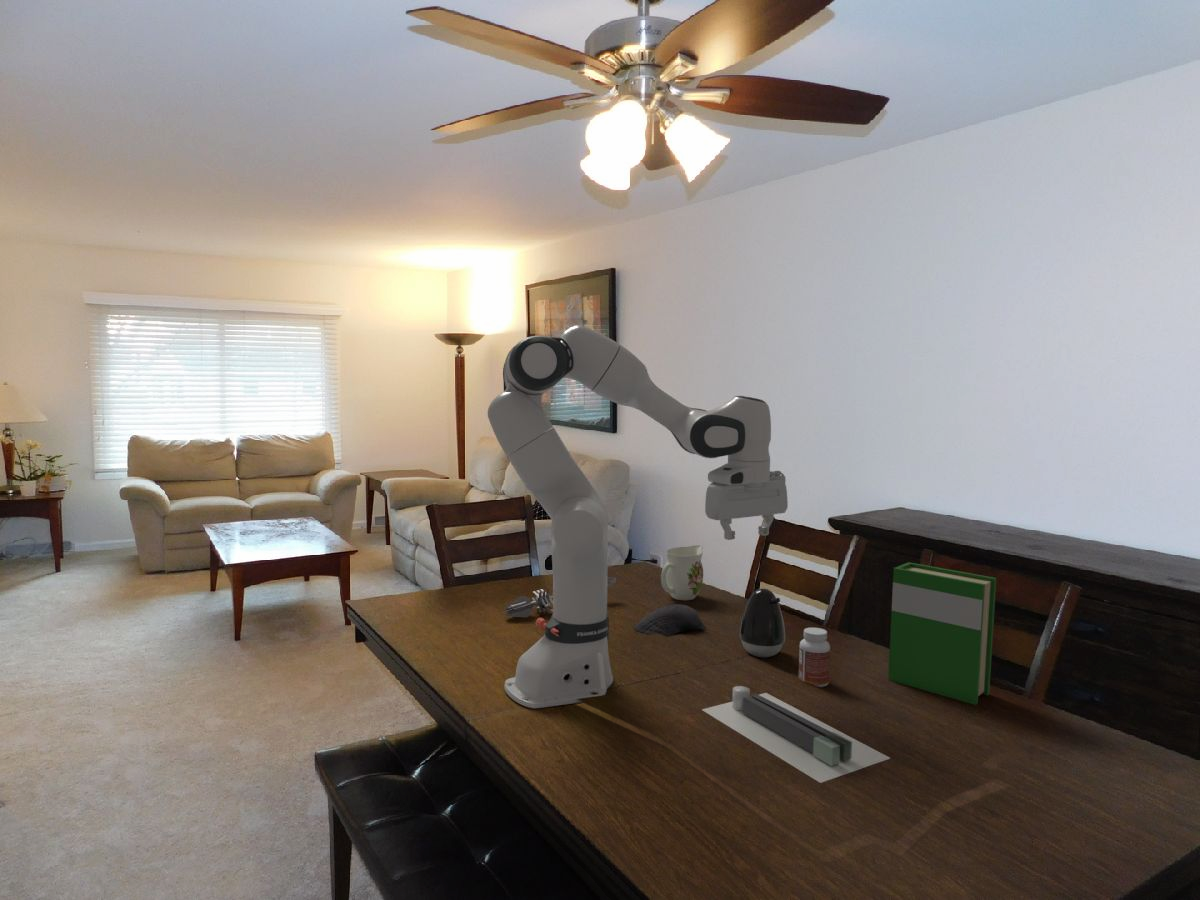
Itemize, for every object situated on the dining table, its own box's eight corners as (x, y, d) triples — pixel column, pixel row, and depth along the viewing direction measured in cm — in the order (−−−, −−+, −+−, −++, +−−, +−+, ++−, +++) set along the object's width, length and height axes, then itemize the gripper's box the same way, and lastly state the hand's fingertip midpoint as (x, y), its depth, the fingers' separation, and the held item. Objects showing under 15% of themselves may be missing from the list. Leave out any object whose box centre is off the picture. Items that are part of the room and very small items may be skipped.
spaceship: (626, 576, 215) (610, 560, 221) (513, 609, 196) (499, 590, 202) (621, 598, 219) (606, 582, 225) (510, 633, 200) (497, 614, 206)
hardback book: (989, 694, 157) (996, 578, 155) (976, 705, 152) (983, 584, 150) (903, 670, 170) (908, 562, 167) (888, 679, 164) (893, 568, 162)
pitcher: (646, 600, 220) (647, 552, 218) (684, 587, 233) (685, 542, 232) (677, 608, 212) (678, 559, 211) (715, 595, 226) (716, 548, 224)
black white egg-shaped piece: (758, 664, 172) (761, 597, 171) (730, 649, 181) (731, 585, 180) (794, 657, 177) (796, 591, 175) (764, 643, 186) (766, 580, 184)
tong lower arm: (727, 706, 148) (727, 688, 147) (741, 703, 150) (742, 684, 149) (831, 767, 125) (832, 746, 125) (847, 762, 127) (848, 741, 127)
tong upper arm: (750, 711, 145) (751, 695, 145) (757, 708, 146) (758, 693, 146) (843, 761, 127) (844, 744, 126) (851, 758, 128) (852, 741, 127)
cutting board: (820, 788, 121) (820, 782, 121) (701, 714, 147) (701, 709, 147) (890, 763, 129) (890, 758, 129) (765, 697, 155) (766, 692, 155)
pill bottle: (835, 684, 162) (837, 632, 161) (815, 690, 158) (817, 637, 157) (812, 674, 167) (814, 624, 166) (792, 680, 163) (793, 629, 162)
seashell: (717, 643, 193) (721, 612, 193) (647, 643, 186) (652, 610, 186) (690, 624, 207) (694, 595, 206) (624, 624, 199) (628, 593, 199)
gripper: (775, 468, 173) (773, 529, 175) (701, 473, 163) (700, 538, 164) (795, 471, 168) (793, 535, 169) (720, 477, 158) (719, 544, 159)
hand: (746, 537), depth 167 cm, fingers open, 8 cm apart
